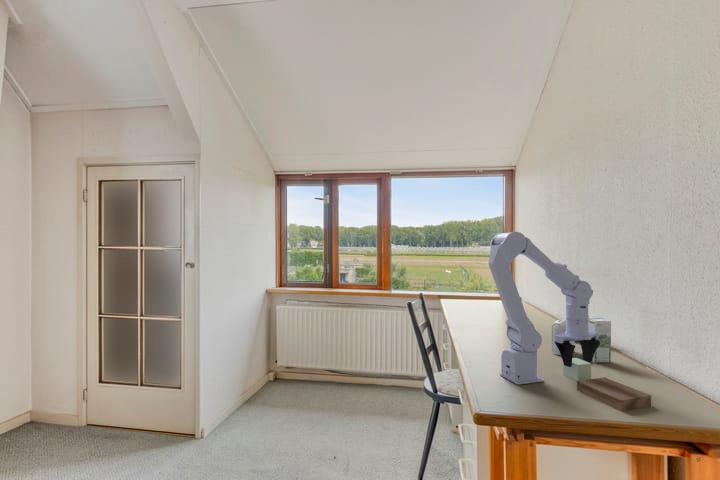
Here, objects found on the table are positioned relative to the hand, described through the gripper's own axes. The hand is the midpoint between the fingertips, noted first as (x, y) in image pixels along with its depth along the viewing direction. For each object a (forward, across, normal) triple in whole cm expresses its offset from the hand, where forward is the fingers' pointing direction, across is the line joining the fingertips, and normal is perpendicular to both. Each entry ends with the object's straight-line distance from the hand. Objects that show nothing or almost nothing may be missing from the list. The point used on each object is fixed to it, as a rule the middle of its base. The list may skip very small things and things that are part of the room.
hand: (577, 364), depth 103 cm
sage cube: (+4, 0, 0) cm, 4 cm away
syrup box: (+4, +20, +10) cm, 23 cm away
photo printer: (+4, +16, +20) cm, 26 cm away
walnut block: (+4, -3, -13) cm, 14 cm away
